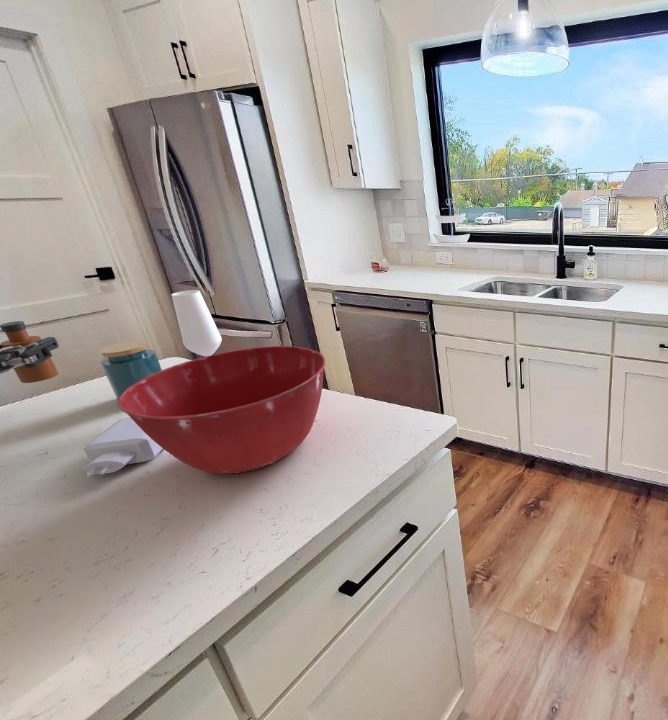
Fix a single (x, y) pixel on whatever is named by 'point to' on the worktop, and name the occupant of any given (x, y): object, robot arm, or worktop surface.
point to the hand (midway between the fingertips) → (37, 342)
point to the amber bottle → (21, 338)
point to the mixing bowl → (230, 406)
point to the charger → (119, 448)
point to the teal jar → (128, 364)
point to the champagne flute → (196, 323)
